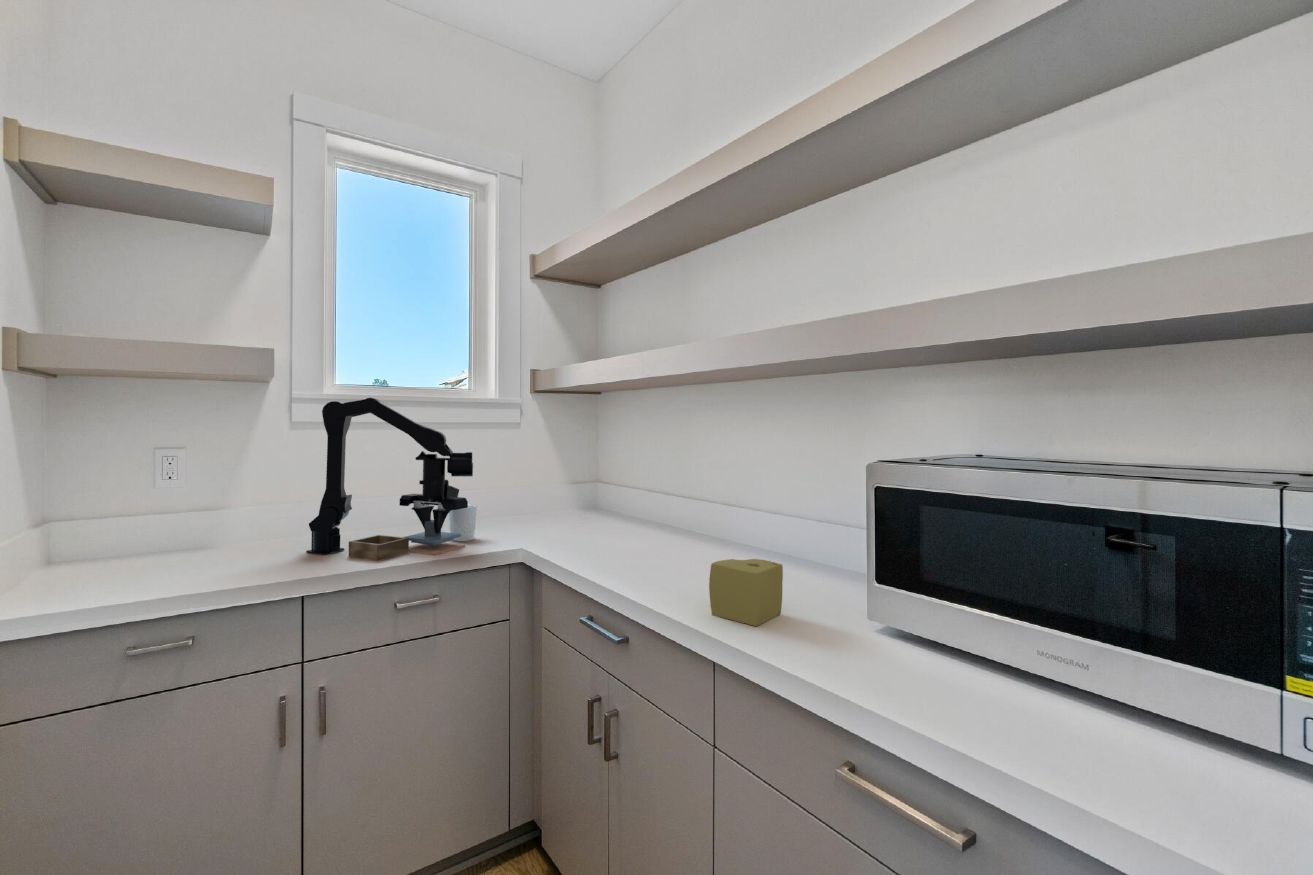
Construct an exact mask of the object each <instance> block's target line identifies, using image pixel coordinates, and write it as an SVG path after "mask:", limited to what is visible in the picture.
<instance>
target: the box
mask: <svg viewBox="0 0 1313 875" xmlns="http://www.w3.org/2000/svg"><path fill="white" fill-rule="evenodd" d="M404 537H405V536H392V535H384V534H377V535H372V536H367V537H363V538H359V539H354V540H349V541H348V558H351V559H352V558H353V559H361V560H370V561H377V562H381V561H384V560H387V559H388V560H389V559H391V558H396V557H399V556H403V555H407V554H409V553H410V552H409V546H410V541H409V538H404Z"/></svg>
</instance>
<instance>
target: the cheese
mask: <svg viewBox="0 0 1313 875" xmlns="http://www.w3.org/2000/svg"><path fill="white" fill-rule="evenodd" d="M783 570H784V569H783V564H782V563H779V562H778V563H777V562H775V561H771V560H765V559H760V558H752V559H751V558H750V559H735V558H731V559H724V560H716V561H714V562H711V565H710V570H709V571H710V572H709V578H708V580H709V582H708V588H709V589H708V590H709V604H710V609H711V610H710V611H711V616H714V617H718V618H720V619H721V618H723V619H726V620H729V621H733V622H738V623H743V624H745V623H746V625H748V626H749V625H751V626H752V627H753V626H754V627H758V626H760V625H763V624H764V623H766V622H768V621H769V620H770V621H771V618H772V619H774V618H775V616H776V617H778V616H780V615H781V614H782V604H783V581H784V578H783V577H784V574H783V573H784V572H783ZM777 615H778V616H777ZM762 623H763V624H762Z"/></svg>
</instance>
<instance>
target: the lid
mask: <svg viewBox="0 0 1313 875" xmlns="http://www.w3.org/2000/svg"><path fill="white" fill-rule="evenodd" d="M403 537H404V538H409V542H410V543H414V544H419V543H421V544H430V545H437V544H440V543H444V542H447V543H449V542H451V541H452V540H453V539H454V538H458V537H461V534H458V533H450V532H449V531H448V532H446V531H442V530H441V531H440V533H438V534H436V531H435V525H434V519H431V520H429V521H425V529H424V532H419V533H415V534H411V535H407V536H403Z"/></svg>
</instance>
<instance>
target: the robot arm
mask: <svg viewBox="0 0 1313 875" xmlns="http://www.w3.org/2000/svg"><path fill="white" fill-rule="evenodd" d="M367 414H371V415H374V416H375V417H377V418H378V419H380V420H382V421H383V422H386V423H388V424H389V425H391V426H393V427H394V428H396V429H398V430H399V431H402V432H403V433H405V434H406V435H408V436H410V437H411V438H412V439H413V440H414V441H415V442H416V443H417V444H418V445H419V446H420V447H422V448H423V449H424V450H426V451H427V452H430V453H426V452H425V451H424V450H421V451H420V453H419V455H417V456H415V460H416V461H422V479H421V480H419V485H422V494H421V493H409V494H403V495H402V494H401V496H400V498H399V506H400V507H401V506H403V507H409V506H410V505H411V504H412V505H413V507H411V510H412V511H414V512H415V514H416V515H417V517H418V519H419V521H420V524H421V525H422V527H423V529H424V530H425V521H429V520H432V517H433V520H434V525H435V531H436V534H438V533H440V531H441V532H442V528H443V526H444V523H445V520H446V518H447V516H449V512H450V511H451V510H458V509H463V508H468V504H469V501H468V500H467V498H466V497H460V496H459V493H460V489H459V488H457V487H455V486H453V485H450V484H449V479H446V472H447V473H448V474H450V476H451V477H473V475H474V463H473V452H472V451H470V452H469V451H467V452H454V451H452V448H450V446H449V445H448V444H447V438H446V435H445V433H443V432H441V431H439V430H437V429H433V428H432V427H428V426H426V425H422V424H420V423H418V422H415V421H414V420H413V419H410V418H409V417H407V416H405V415H403V414H402V413H400V412H398V411H396V410H395V409H393V408H391V407H390V406H388V405H386V404H384V403H383V402H381V401H380V400H379V399H378V398H375V397H367V398H365V399H360V400H353V401H348V402H347V401H346V402H344V401H343V402H342V401H338V400H335V401H334V400H333V401H329V402H327V403H325V405H324V406H323V408H322V409H321V416H322V420H323V425H324V429H325V431H326V435H327V444H326V445H327V447H326V448H327V449H326V451H327V452H326V471H325V472H326V476H325V479H326V480H325V490H324V493H323V496H322V499H321V502H320V505H319V506H320V507H319V509H318V510H319V511H318V515H317V516H316V517H314V519H313V520H311V521H310V522H309V523H308V527H309V529H310V532H311V549H308V550H306V551H305V553H306V554H313V555H314V554H315V555H322V556H323V555H325V556H326V555H329V554H333V553H334V554H335V553H337V552H342V551H345V548H344V547H341V533H340V532H341V530H340V528H339V526H340V524H341V523H342V521H343V520H344V519H346V517H348V516H349V513H350V511H351V510H353V507H352V503H351V502H352V498H353V494H347V493H346V489H345V471H346V470H345V469H346V444H347V441H346V440H347V434H348V431H349V429H350V426H351V422H352V418H353V417H355V418H356V417H360V416H362V415H363V416H364V415H367ZM438 455H440V456H442V457H438ZM446 461H447V464H446ZM446 465H447V467H446ZM446 468H447V471H446ZM435 506H437V508H435ZM434 508H435V509H434ZM432 515H433V516H432Z"/></svg>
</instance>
